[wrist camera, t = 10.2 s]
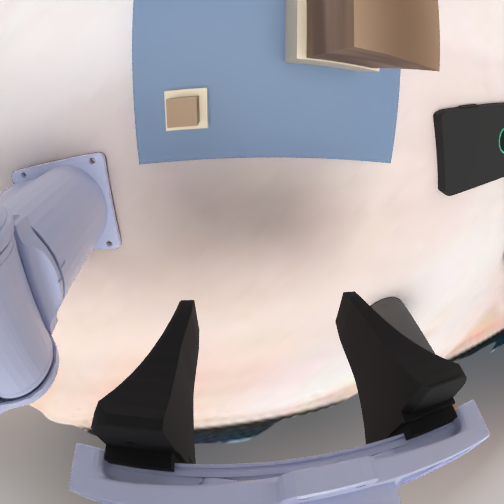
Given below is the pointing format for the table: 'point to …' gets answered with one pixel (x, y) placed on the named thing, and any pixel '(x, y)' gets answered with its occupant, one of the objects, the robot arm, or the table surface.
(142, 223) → the table surface
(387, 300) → the bottle
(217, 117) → the board
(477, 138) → the smart home device
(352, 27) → the walnut block
